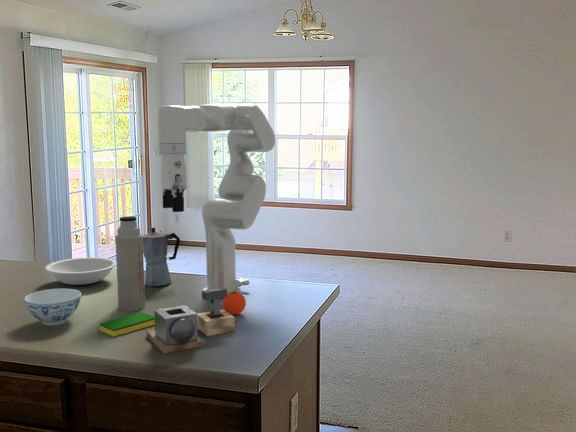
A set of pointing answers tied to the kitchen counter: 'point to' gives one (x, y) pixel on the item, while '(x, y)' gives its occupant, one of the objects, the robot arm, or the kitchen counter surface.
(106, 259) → the soup bowl
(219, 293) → the chuck key
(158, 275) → the moka pot
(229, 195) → the robot arm
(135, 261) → the thermos bottle
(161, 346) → the board
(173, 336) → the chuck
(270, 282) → the kitchen counter surface
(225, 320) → the wooden square frame
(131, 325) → the dish sponge
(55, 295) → the chinaware
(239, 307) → the clementine
